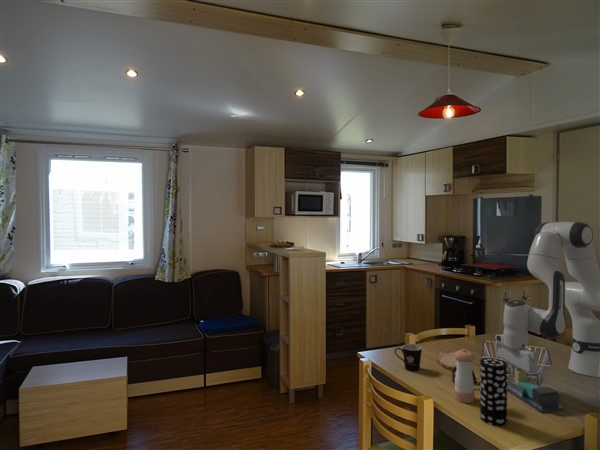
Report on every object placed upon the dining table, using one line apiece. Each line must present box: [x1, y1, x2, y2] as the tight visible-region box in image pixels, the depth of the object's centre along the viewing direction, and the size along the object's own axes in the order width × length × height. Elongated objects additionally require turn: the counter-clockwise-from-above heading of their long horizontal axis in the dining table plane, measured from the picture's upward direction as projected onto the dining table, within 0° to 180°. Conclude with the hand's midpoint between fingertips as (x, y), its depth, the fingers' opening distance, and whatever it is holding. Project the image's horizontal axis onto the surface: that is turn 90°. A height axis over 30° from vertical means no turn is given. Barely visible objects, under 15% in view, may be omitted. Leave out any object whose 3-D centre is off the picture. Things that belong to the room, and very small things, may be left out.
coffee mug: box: [394, 343, 423, 372], centre depth 183 cm, size 12×9×10 cm
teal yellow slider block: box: [514, 369, 540, 398], centre depth 151 cm, size 4×15×7 cm, turn 9°
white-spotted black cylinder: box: [479, 357, 508, 427], centre depth 136 cm, size 8×8×20 cm
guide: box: [507, 379, 565, 414], centre depth 153 cm, size 9×24×6 cm, turn 10°
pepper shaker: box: [453, 348, 475, 404], centre depth 152 cm, size 7×7×19 cm
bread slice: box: [436, 351, 457, 373], centre depth 189 cm, size 18×18×4 cm
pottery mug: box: [451, 366, 478, 385], centre depth 168 cm, size 12×10×8 cm
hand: (515, 375), depth 160 cm, fingers closed
